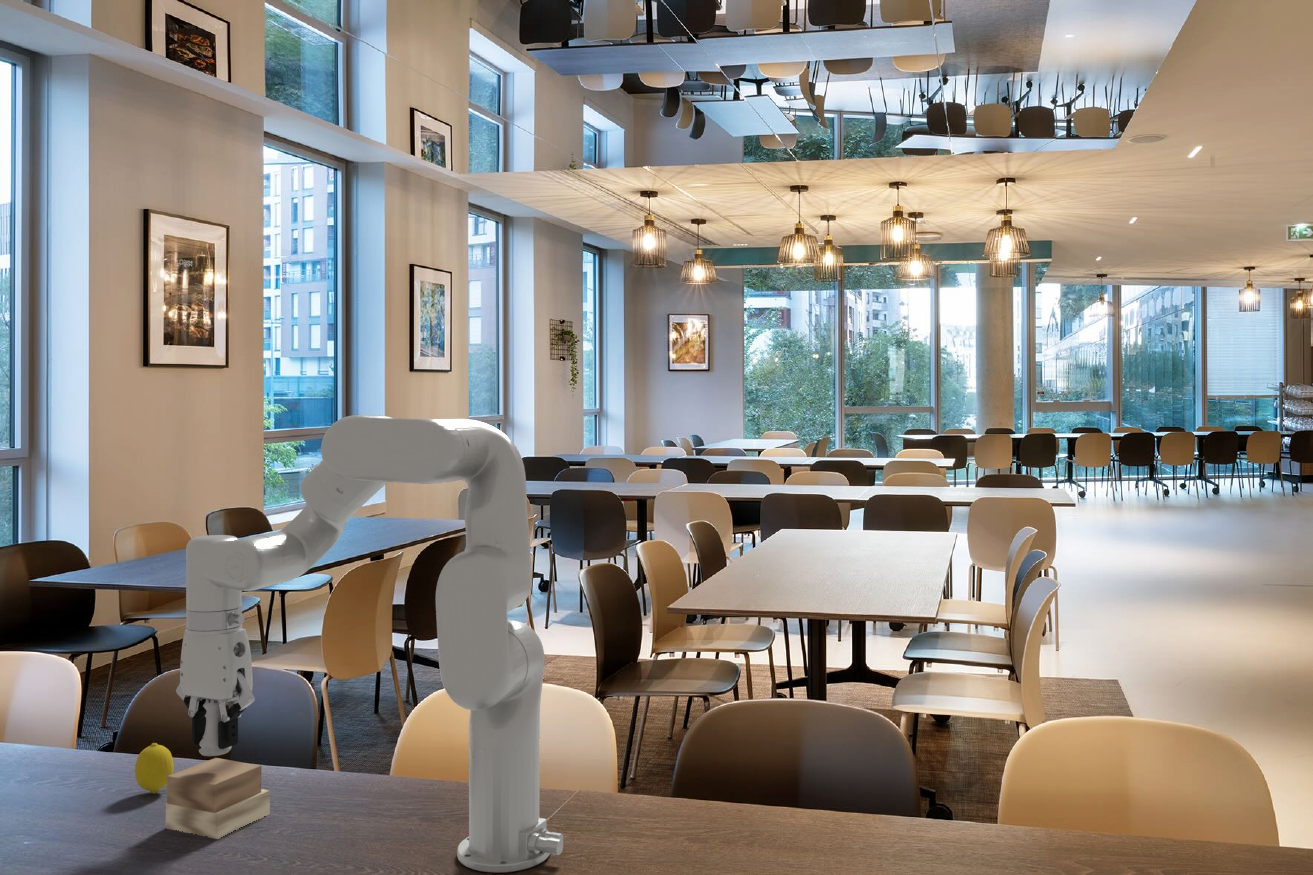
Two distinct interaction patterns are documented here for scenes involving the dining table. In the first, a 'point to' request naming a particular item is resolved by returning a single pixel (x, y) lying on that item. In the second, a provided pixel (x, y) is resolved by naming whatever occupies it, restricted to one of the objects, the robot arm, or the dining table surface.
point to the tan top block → (213, 785)
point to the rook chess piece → (212, 730)
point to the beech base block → (218, 816)
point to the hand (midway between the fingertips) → (215, 742)
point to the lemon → (154, 767)
